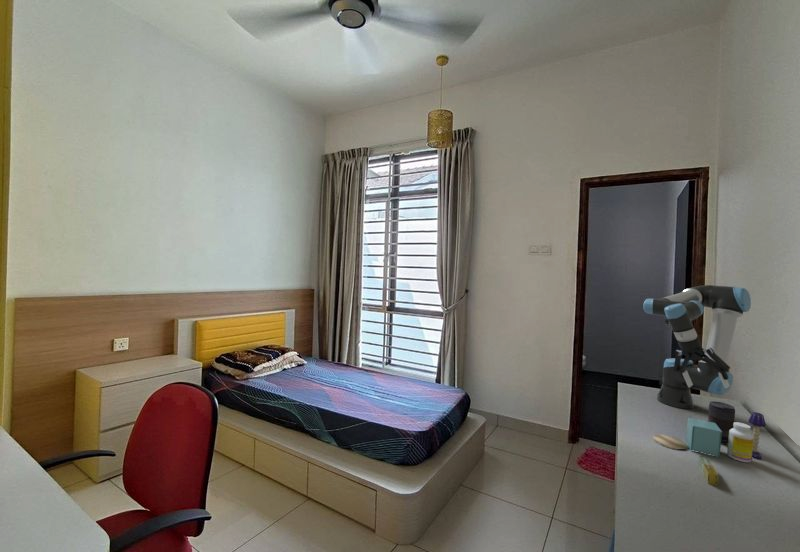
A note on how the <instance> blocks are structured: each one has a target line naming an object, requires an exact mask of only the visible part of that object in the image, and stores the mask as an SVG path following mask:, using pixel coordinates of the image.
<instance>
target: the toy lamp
mask: <svg viewBox="0 0 800 552" xmlns="http://www.w3.org/2000/svg"><path fill="white" fill-rule="evenodd" d="M747 422H748V423H749V424H750V425H752V426H753V432H752V435H753V437H754V439H753V449H752V457H753V459H755V458H757V459H756V460H762V459H763V457H762V455H761V453H760V452H759V449H758V448H759V443H760V441H759V440H760V432H761V430H760V429H761V428H764V427H766V426H767V425H766V421H765V417H764V415H763V414H762V413H760V412H753V411H752V413H751V414H750V416H749V418H748V421H747Z"/></svg>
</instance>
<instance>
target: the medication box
mask: <svg viewBox="0 0 800 552" xmlns="http://www.w3.org/2000/svg"><path fill="white" fill-rule="evenodd" d="M698 467H699V469H700V471H701V473H702V475H703V476H704V478H705V481H706V482H707V484H708V485H712V486H716V487H718V486H719V474H718V472H717V470H716V469H715V467H714V465H712V462H711V461H710V459H709V458H708V457H707V456H702V455H701V456H700V455H698Z"/></svg>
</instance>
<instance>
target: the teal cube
mask: <svg viewBox="0 0 800 552" xmlns="http://www.w3.org/2000/svg"><path fill="white" fill-rule="evenodd" d="M686 425H687V426H686V437H685V443H686V444H688V445H687V446H689V447H688V448H689V450H690V449H691V450H694V451H698V452H703V453H706V454H711V455H714V456H718V457H721V456H720V455H721V447H722V444H721V437H722V431H721V430H720V428H719V427H718V426H717V425H716V423H713V422H708V420H702V419H698V418H692V417H687V423H686ZM691 450H690V451H691ZM706 454H705V455H706ZM714 456H713V457H714ZM718 457H717V458H718Z"/></svg>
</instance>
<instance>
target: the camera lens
mask: <svg viewBox="0 0 800 552" xmlns="http://www.w3.org/2000/svg"><path fill="white" fill-rule="evenodd" d="M735 408H736V407H735V406H734V405H731V404H729V403H726V402H722V401H717V400H716V401H715V400H714V401H710V402H709V404H708V409H707V410H708V419H707V421H708V422H713V423H716V425H717V426H718V427H719V428H720V430H721V431H722V437H721V445H728V440H729V430H730V429H732V428H734V426H733V424H734V422H735V418H736V409H735Z"/></svg>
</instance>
